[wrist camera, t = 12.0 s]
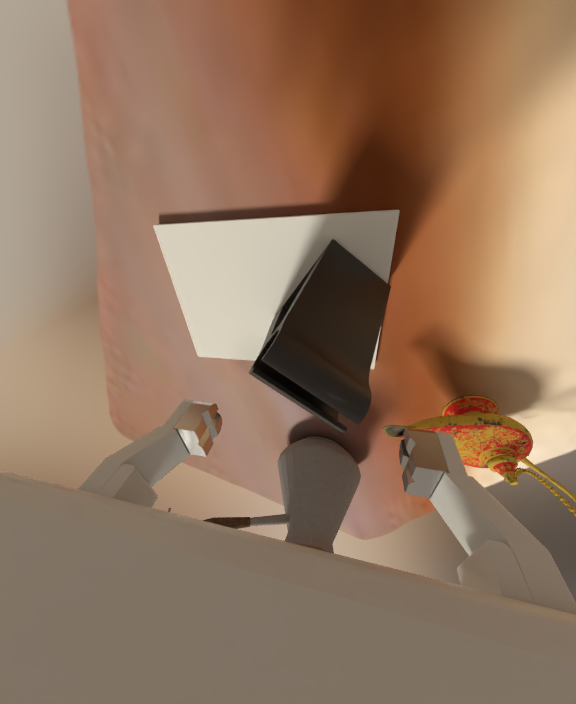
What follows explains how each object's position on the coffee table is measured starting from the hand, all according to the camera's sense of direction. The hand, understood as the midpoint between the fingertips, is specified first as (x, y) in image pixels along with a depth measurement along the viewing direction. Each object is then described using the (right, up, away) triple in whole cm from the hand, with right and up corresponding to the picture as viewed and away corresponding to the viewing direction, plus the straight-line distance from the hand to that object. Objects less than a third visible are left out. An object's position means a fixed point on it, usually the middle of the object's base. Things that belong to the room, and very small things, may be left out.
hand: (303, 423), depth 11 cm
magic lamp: (+17, -3, +16) cm, 24 cm away
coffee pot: (0, -10, +25) cm, 27 cm away
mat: (-2, +8, +13) cm, 15 cm away
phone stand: (+3, +8, +11) cm, 14 cm away
